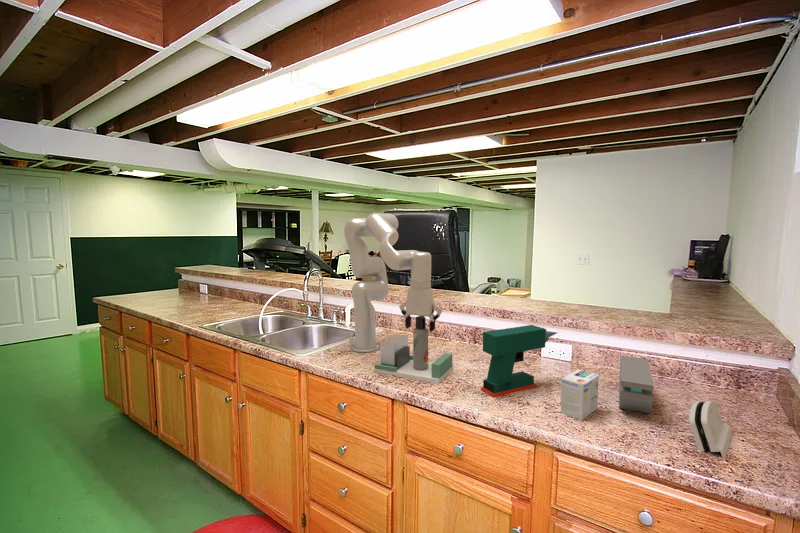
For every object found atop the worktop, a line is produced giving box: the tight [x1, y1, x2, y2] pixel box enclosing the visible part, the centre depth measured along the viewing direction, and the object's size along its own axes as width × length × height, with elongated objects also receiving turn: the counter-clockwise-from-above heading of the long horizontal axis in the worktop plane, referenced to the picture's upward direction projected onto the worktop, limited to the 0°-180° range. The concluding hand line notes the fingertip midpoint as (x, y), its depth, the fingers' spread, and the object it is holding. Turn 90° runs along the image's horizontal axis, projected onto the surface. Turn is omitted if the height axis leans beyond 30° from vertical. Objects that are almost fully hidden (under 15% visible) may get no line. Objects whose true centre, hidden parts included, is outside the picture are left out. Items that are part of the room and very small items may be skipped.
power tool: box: [480, 324, 559, 398], centre depth 132 cm, size 32×7×20 cm, turn 115°
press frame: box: [374, 352, 454, 385], centre depth 147 cm, size 26×16×6 cm, turn 63°
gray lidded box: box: [618, 355, 655, 414], centre depth 118 cm, size 25×8×11 cm, turn 150°
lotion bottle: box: [412, 315, 429, 370], centre depth 145 cm, size 6×6×20 cm
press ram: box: [379, 333, 411, 370], centre depth 150 cm, size 7×12×10 cm, turn 153°
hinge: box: [689, 400, 733, 459], centre depth 97 cm, size 17×5×10 cm, turn 134°
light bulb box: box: [560, 369, 600, 421], centre depth 113 cm, size 11×7×11 cm, turn 131°
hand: (419, 329), depth 145 cm, fingers open, 9 cm apart
